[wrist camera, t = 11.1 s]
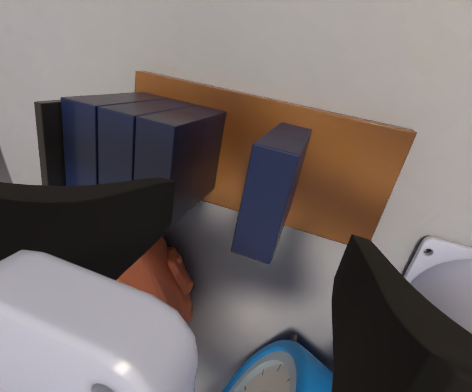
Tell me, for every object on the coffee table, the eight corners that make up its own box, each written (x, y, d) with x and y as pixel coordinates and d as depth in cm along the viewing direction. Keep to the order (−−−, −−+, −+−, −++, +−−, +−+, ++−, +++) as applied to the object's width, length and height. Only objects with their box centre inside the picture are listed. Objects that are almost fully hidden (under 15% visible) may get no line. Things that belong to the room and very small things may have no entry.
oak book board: (365, 243, 21) (383, 346, 13) (138, 175, 24) (42, 221, 16) (413, 129, 17) (478, 171, 9) (143, 70, 21) (26, 65, 13)
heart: (42, 210, 20) (32, 341, 27) (203, 289, 20) (151, 402, 27) (99, 179, 25) (79, 295, 32) (227, 240, 25) (179, 345, 32)
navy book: (290, 208, 20) (269, 265, 14) (262, 200, 21) (230, 252, 15) (312, 129, 18) (300, 154, 12) (280, 121, 19) (252, 142, 12)
